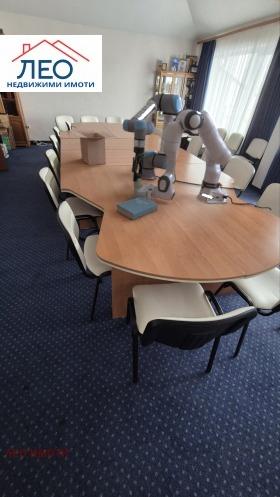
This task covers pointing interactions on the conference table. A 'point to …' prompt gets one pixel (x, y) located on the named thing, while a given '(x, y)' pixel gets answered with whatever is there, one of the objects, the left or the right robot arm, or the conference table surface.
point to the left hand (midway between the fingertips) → (137, 179)
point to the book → (136, 207)
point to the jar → (137, 185)
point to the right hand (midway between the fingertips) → (135, 187)
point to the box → (92, 146)
